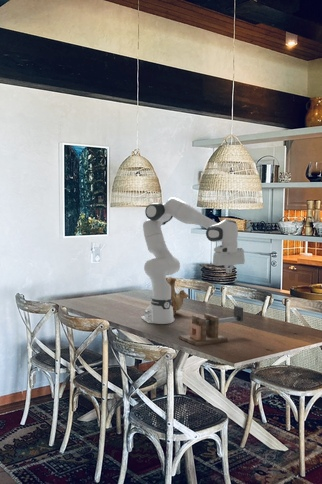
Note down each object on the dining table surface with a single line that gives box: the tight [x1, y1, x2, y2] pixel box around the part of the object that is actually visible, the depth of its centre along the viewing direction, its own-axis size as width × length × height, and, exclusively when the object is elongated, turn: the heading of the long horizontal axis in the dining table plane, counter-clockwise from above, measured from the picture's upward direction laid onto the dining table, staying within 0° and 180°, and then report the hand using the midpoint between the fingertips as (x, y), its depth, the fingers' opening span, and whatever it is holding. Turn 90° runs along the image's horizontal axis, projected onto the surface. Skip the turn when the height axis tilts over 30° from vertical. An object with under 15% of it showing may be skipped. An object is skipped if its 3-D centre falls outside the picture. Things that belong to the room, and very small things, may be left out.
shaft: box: [206, 305, 244, 325], centre depth 282 cm, size 6×25×8 cm, turn 121°
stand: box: [178, 313, 229, 346], centre depth 276 cm, size 16×20×12 cm
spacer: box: [189, 323, 201, 340], centre depth 273 cm, size 7×2×7 cm, turn 31°
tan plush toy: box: [166, 276, 191, 316], centre depth 337 cm, size 18×19×25 cm
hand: (228, 272), depth 295 cm, fingers closed
